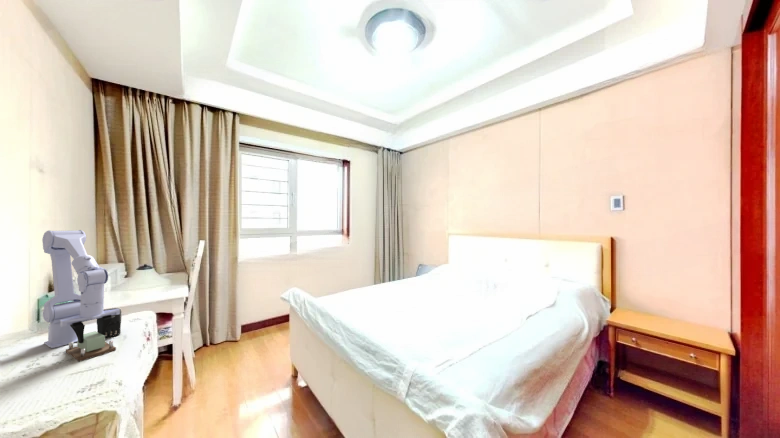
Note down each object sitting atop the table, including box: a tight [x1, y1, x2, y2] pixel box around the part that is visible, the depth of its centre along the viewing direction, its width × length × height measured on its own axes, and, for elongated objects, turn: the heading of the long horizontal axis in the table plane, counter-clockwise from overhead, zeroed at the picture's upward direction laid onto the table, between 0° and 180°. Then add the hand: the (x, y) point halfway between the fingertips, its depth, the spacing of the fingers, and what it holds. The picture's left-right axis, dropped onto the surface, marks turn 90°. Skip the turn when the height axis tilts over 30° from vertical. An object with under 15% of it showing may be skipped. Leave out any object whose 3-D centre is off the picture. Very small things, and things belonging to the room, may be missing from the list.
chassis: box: [65, 340, 117, 362], centre depth 97 cm, size 14×9×4 cm, turn 64°
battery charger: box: [96, 307, 123, 339], centre depth 109 cm, size 7×4×11 cm, turn 130°
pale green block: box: [76, 331, 106, 352], centre depth 97 cm, size 9×4×4 cm, turn 64°
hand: (91, 339), depth 97 cm, fingers closed on pale green block, 4 cm apart
